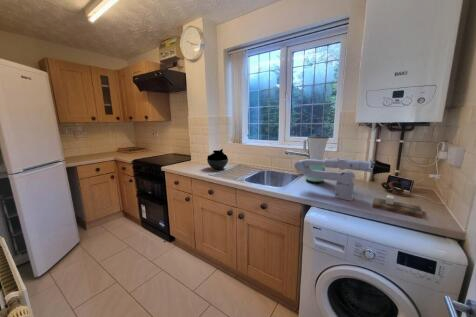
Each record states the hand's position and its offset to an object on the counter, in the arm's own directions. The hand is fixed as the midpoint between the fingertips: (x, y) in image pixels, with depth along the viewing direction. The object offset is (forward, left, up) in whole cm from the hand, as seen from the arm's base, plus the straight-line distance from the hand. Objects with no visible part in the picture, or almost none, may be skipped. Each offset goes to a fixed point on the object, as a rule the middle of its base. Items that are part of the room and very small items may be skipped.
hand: (390, 168), depth 104 cm
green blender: (-45, +21, -21) cm, 54 cm away
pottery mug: (+3, +28, -21) cm, 36 cm away
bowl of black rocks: (-130, +5, -21) cm, 132 cm away
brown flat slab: (+5, -1, -21) cm, 22 cm away
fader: (+2, -1, -19) cm, 19 cm away
